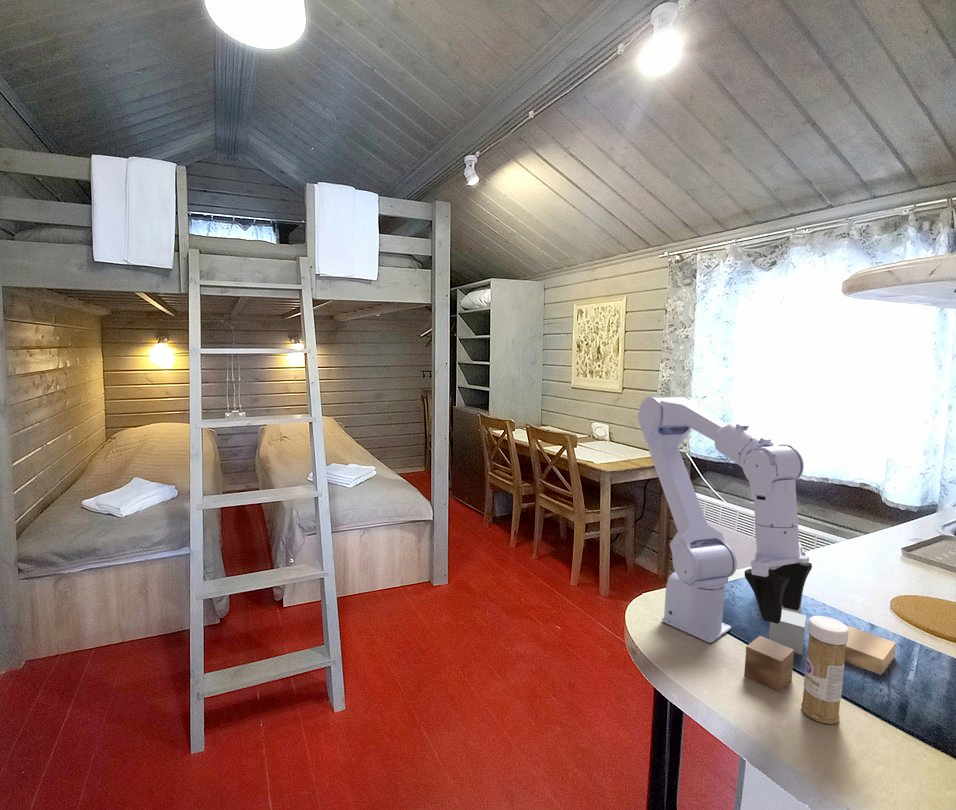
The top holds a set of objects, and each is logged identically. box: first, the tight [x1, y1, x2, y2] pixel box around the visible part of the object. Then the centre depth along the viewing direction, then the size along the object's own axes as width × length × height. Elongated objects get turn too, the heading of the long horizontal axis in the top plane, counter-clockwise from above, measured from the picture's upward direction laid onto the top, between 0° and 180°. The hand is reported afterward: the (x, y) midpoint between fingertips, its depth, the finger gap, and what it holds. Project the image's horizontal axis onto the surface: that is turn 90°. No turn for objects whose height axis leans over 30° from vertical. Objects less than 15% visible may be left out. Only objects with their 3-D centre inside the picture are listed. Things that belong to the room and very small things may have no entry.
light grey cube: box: [768, 609, 807, 656], centre depth 90 cm, size 5×5×5 cm
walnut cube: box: [743, 635, 795, 694], centre depth 80 cm, size 5×5×5 cm
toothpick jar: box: [800, 615, 849, 725], centre depth 71 cm, size 5×5×13 cm
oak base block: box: [844, 624, 897, 674], centre depth 87 cm, size 8×8×3 cm
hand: (781, 614), depth 78 cm, fingers open, 7 cm apart
